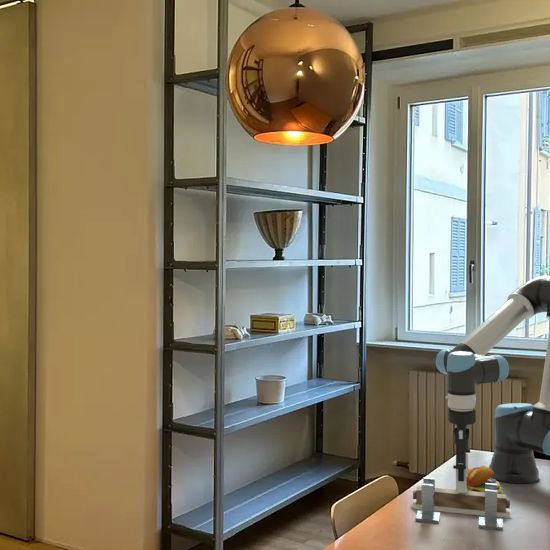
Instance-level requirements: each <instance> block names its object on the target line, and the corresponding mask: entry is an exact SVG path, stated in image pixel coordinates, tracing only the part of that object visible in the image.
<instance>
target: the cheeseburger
mask: <svg viewBox="0 0 550 550" xmlns="http://www.w3.org/2000/svg"><path fill="white" fill-rule="evenodd" d="M493 474H494V472H493V471H492V470H491V469H490V468H489V466H486V465H480V466H477V467H473V468H468V477H466V487H467V491H475V492H485V483H493V484H497V494H504V491H503V488H502V486H501V484H500V482H499V481H498V480H497V479H494V478H492V476H493Z"/></svg>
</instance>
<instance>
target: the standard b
mask: <svg viewBox="0 0 550 550" xmlns="http://www.w3.org/2000/svg"><path fill="white" fill-rule="evenodd" d="M503 519H504V518H498V517H497V484H493V483H485V516H478V528H479V529H484V530H485V529H487V530H497V531H504V521H503Z"/></svg>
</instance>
